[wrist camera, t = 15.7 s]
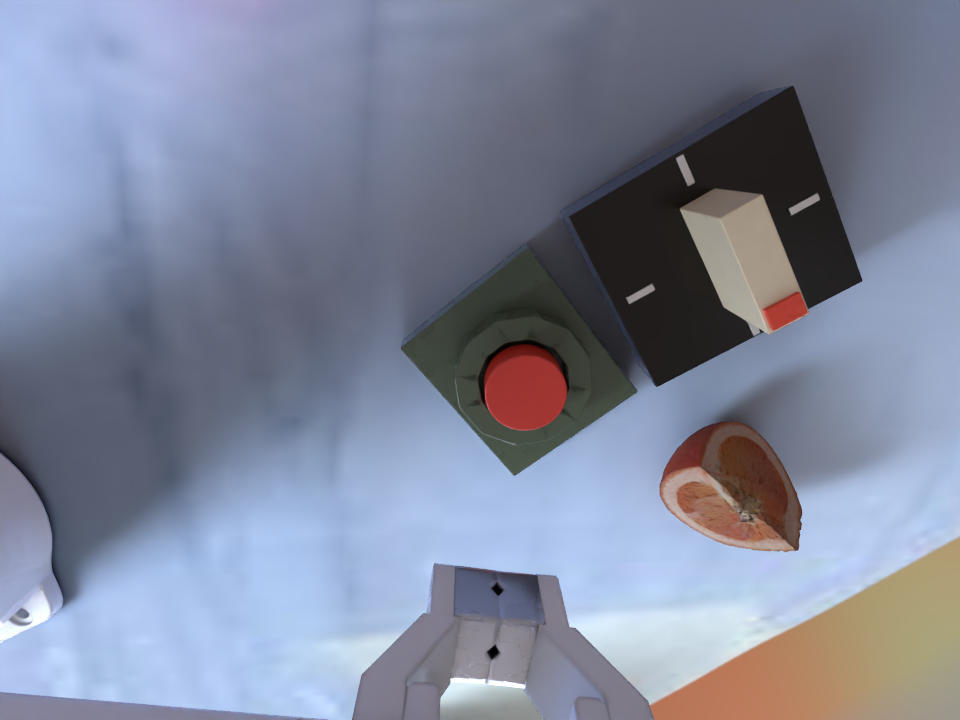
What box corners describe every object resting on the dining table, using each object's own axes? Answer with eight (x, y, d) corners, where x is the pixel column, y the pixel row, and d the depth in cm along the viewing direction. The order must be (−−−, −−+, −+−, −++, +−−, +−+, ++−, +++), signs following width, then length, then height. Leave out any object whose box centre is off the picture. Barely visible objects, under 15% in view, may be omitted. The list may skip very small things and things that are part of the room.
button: (577, 386, 29) (583, 400, 27) (515, 429, 30) (518, 445, 28) (531, 328, 28) (534, 338, 26) (468, 375, 28) (467, 388, 27)
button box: (630, 380, 32) (648, 405, 29) (512, 461, 34) (516, 494, 30) (525, 242, 29) (532, 253, 26) (403, 338, 31) (395, 360, 28)
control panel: (640, 367, 32) (657, 388, 29) (558, 211, 29) (568, 217, 26) (826, 269, 30) (865, 281, 27) (760, 92, 27) (796, 84, 24)
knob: (678, 208, 26) (721, 218, 21) (715, 187, 25) (766, 194, 21) (723, 307, 27) (771, 336, 23) (757, 289, 27) (813, 315, 23)
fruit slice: (796, 468, 34) (847, 518, 29) (711, 536, 36) (746, 594, 31) (707, 384, 32) (747, 423, 27) (622, 460, 34) (646, 509, 29)
